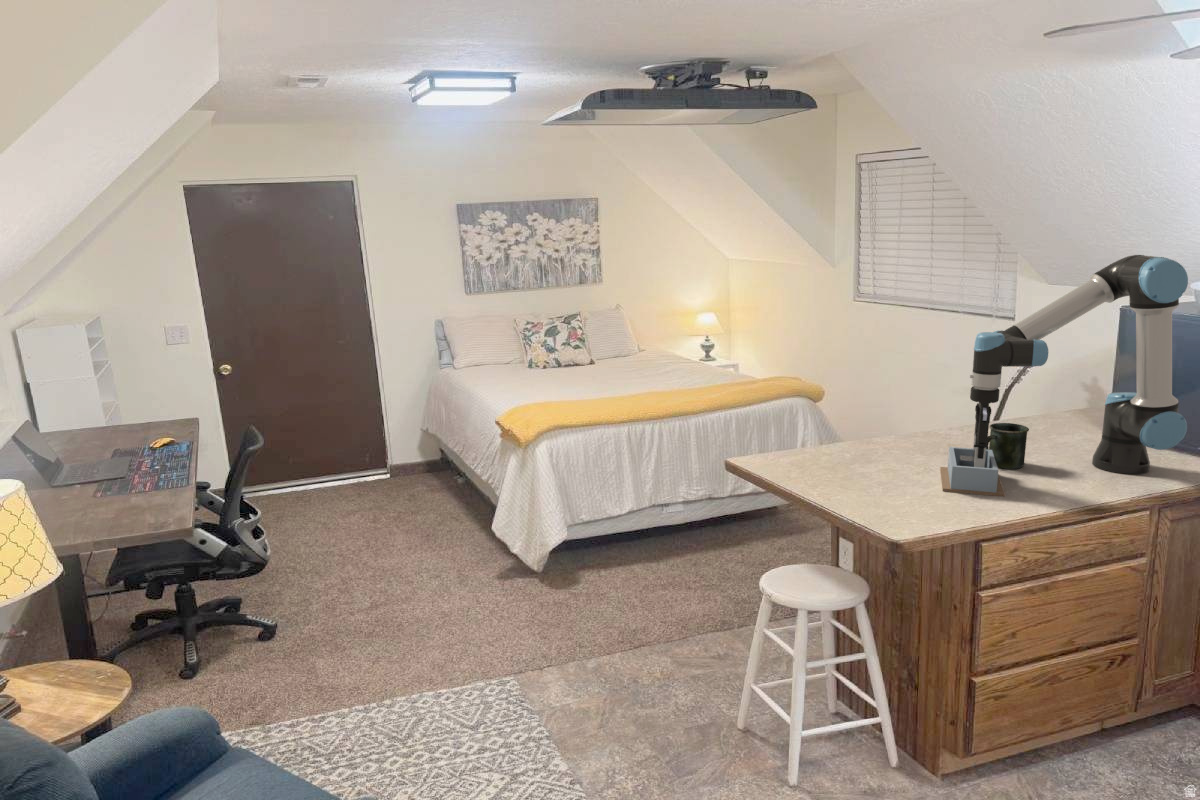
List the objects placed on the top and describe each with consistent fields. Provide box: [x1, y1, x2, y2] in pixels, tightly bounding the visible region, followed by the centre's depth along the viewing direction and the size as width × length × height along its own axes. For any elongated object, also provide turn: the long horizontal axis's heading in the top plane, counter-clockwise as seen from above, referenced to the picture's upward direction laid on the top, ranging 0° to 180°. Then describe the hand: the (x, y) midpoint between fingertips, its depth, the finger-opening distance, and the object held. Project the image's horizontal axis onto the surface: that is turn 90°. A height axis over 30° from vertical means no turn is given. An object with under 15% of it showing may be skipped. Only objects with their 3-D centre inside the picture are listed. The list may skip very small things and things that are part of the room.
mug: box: [986, 422, 1030, 470], centre depth 274 cm, size 11×15×12 cm
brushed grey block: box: [959, 431, 986, 467], centre depth 258 cm, size 6×5×10 cm
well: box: [939, 446, 1005, 497], centre depth 259 cm, size 16×21×7 cm
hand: (978, 465), depth 259 cm, fingers closed on brushed grey block, 5 cm apart
